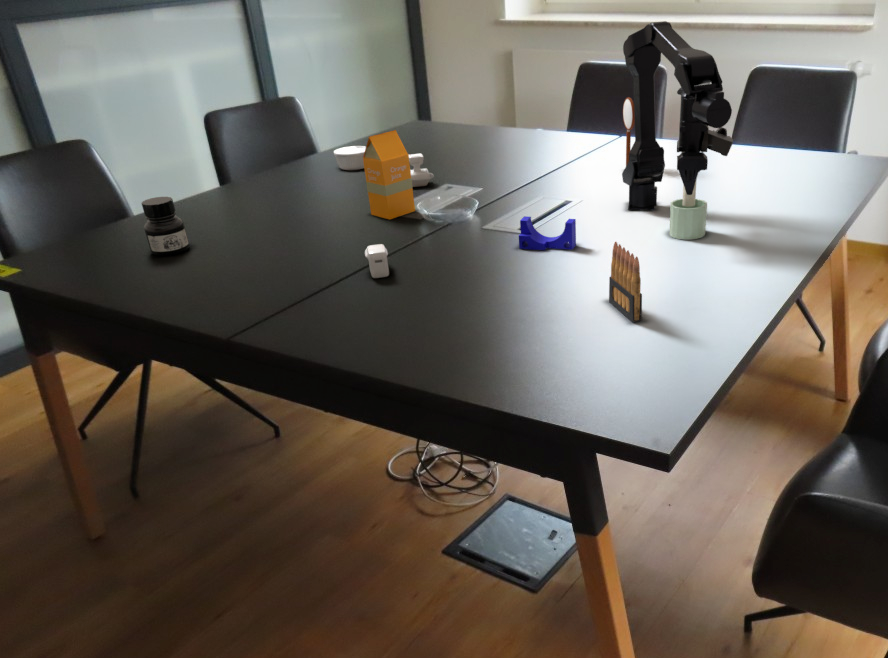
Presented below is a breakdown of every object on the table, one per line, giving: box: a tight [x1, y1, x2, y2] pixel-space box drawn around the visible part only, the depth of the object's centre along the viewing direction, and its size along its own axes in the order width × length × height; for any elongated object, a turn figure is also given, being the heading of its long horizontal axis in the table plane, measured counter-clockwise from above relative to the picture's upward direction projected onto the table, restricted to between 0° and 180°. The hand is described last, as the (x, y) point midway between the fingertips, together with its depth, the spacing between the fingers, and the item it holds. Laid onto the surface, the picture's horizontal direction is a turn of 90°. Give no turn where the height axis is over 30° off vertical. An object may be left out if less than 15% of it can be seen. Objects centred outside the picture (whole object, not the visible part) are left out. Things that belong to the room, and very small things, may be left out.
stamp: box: [408, 153, 435, 188], centre depth 233 cm, size 9×7×8 cm
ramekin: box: [333, 145, 366, 171], centre depth 257 cm, size 11×11×5 cm
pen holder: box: [668, 198, 708, 241], centre depth 185 cm, size 8×8×7 cm
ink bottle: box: [141, 196, 190, 257], centre depth 194 cm, size 10×9×12 cm
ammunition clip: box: [608, 240, 643, 323], centre depth 149 cm, size 11×2×12 cm, turn 18°
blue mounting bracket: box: [518, 216, 577, 251], centre depth 183 cm, size 12×4×6 cm, turn 71°
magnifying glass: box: [622, 96, 635, 167], centre depth 231 cm, size 9×2×20 cm, turn 12°
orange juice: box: [363, 129, 416, 220], centre depth 208 cm, size 8×9×20 cm
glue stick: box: [682, 177, 698, 207], centre depth 182 cm, size 3×3×8 cm
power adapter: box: [364, 243, 390, 279], centre depth 176 cm, size 11×5×6 cm, turn 13°
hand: (689, 192), depth 182 cm, fingers closed on glue stick, 3 cm apart
